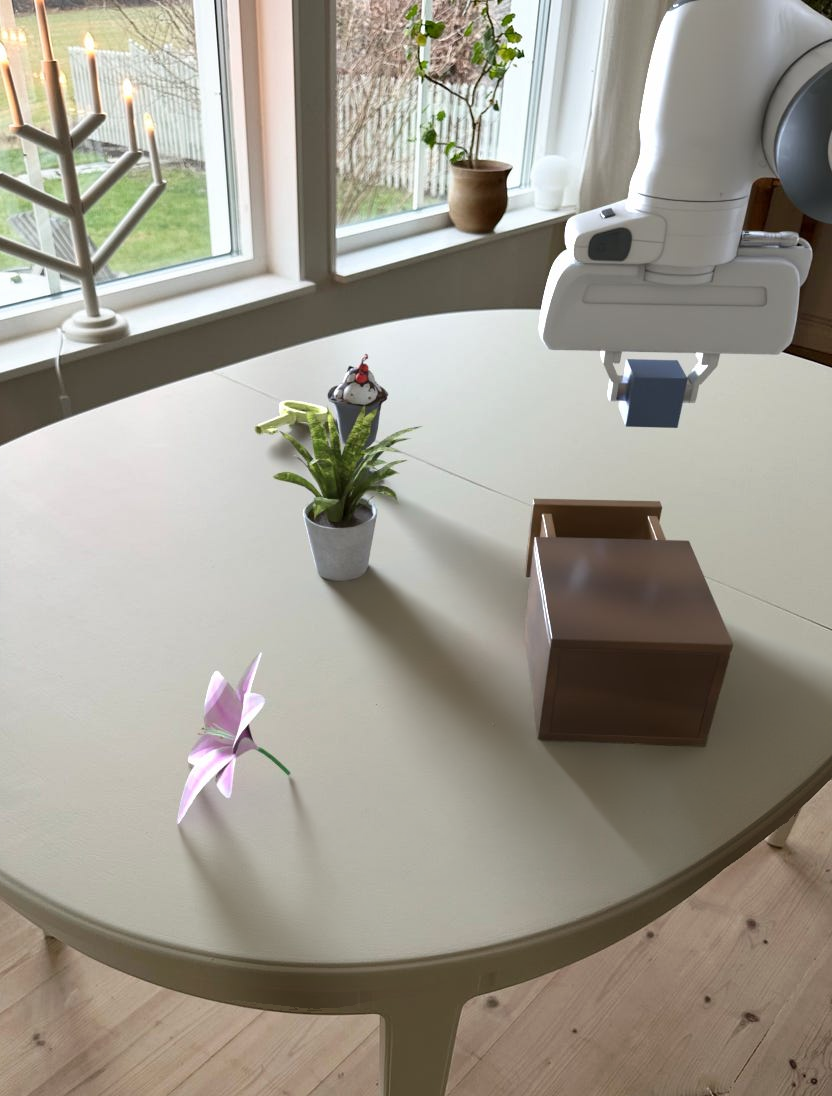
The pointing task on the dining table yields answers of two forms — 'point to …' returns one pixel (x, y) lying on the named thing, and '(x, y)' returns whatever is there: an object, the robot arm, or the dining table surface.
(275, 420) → the key
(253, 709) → the lily
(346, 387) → the sundae
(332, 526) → the house plant
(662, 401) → the block
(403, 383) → the dining table surface
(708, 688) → the cabinet
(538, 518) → the drawer
